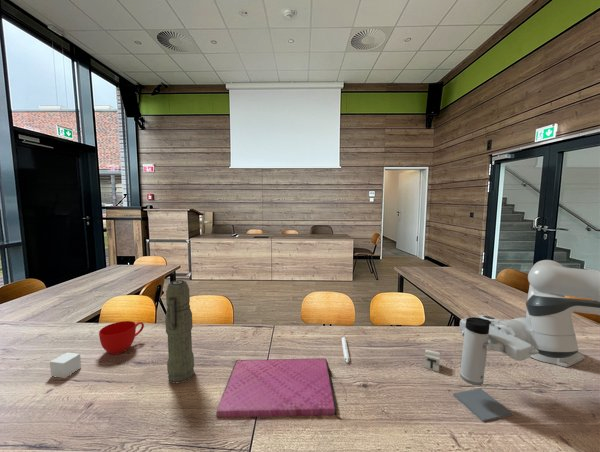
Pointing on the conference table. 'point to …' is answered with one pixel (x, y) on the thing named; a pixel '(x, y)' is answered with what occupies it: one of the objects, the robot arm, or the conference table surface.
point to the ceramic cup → (118, 336)
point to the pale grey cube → (65, 365)
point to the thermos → (179, 332)
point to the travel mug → (474, 350)
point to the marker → (345, 350)
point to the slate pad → (482, 404)
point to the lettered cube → (432, 360)
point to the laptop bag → (278, 389)
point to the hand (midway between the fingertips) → (473, 340)
